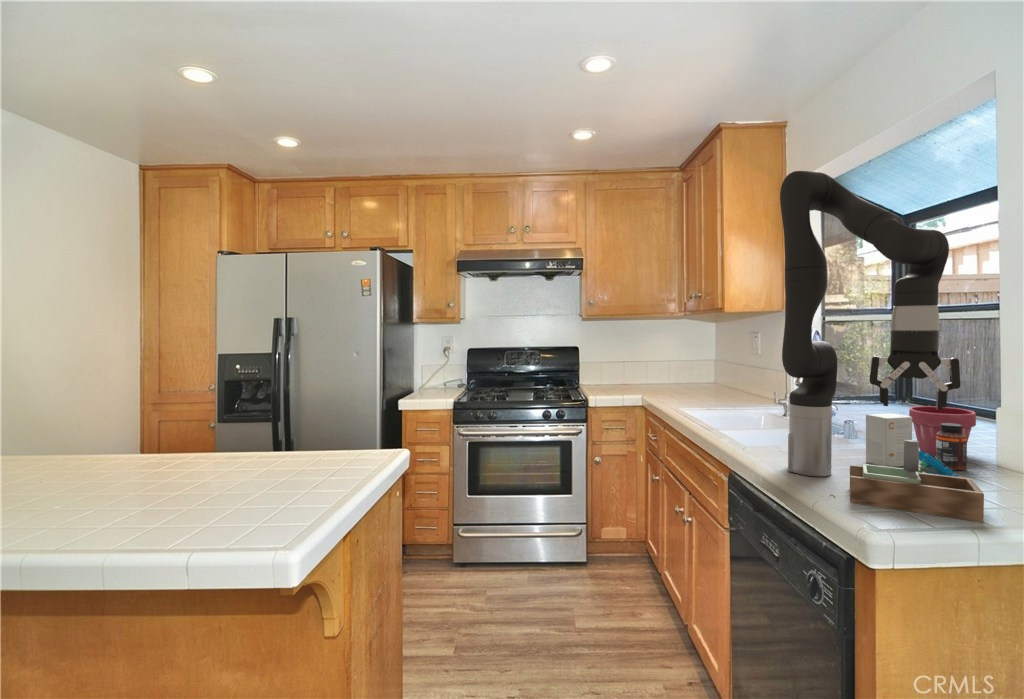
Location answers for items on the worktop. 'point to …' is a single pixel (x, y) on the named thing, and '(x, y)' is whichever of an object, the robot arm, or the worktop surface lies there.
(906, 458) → the crate
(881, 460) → the small box
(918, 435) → the plant pot
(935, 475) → the bay
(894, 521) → the worktop surface
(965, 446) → the supplement bottle
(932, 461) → the gear
